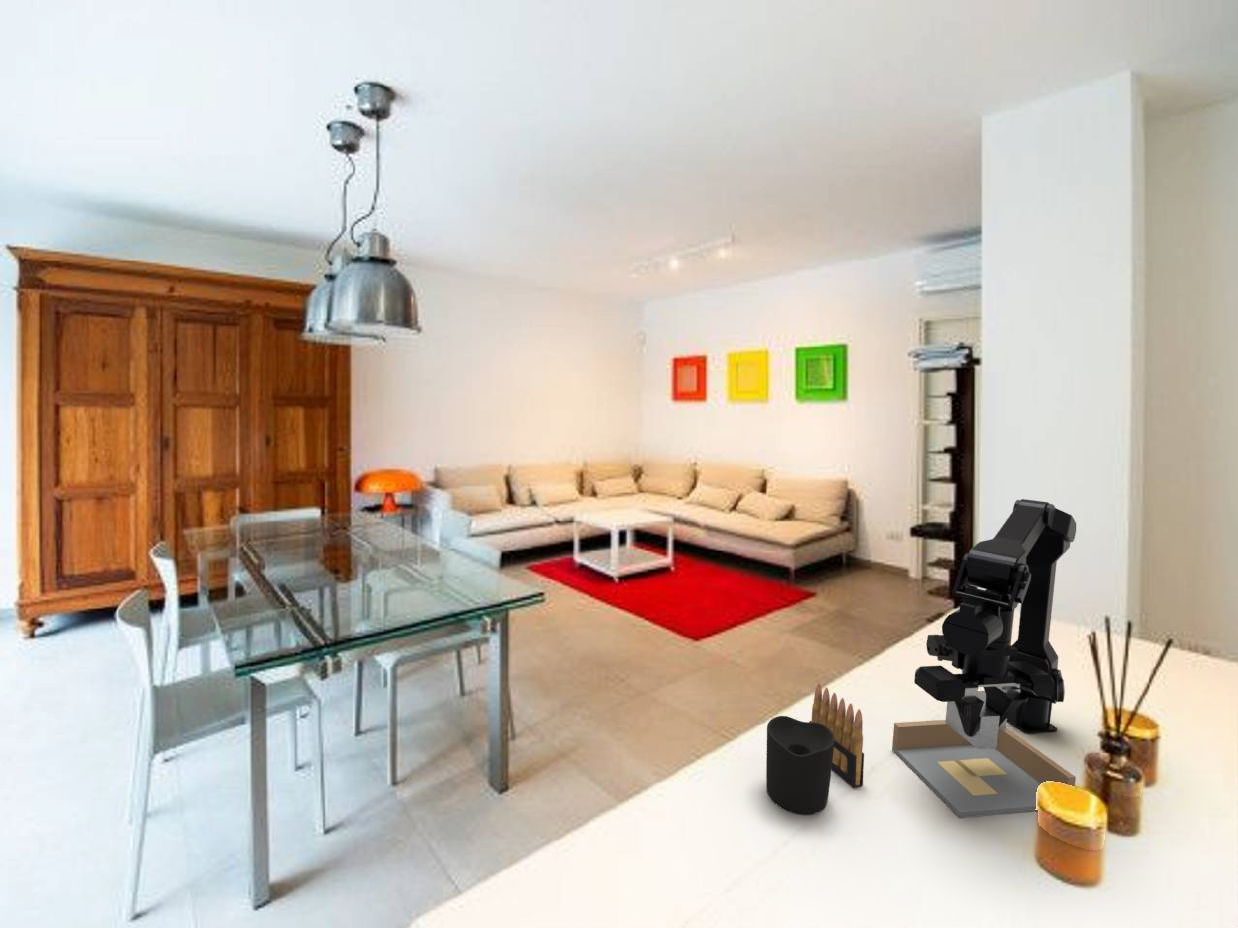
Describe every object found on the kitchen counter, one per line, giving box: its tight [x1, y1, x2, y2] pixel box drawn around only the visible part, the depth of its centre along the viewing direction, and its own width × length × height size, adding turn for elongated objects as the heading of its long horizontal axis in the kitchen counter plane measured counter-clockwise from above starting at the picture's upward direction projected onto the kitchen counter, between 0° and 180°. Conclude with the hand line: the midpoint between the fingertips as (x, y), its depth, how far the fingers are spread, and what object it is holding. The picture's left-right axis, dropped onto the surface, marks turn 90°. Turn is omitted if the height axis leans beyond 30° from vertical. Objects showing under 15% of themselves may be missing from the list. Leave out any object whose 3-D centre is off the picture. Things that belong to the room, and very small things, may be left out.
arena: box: [891, 719, 1077, 819], centre depth 92 cm, size 18×16×5 cm
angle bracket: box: [945, 690, 1008, 749], centre depth 90 cm, size 7×8×5 cm
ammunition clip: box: [808, 682, 865, 789], centre depth 93 cm, size 11×2×12 cm, turn 22°
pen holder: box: [765, 715, 835, 816], centre depth 86 cm, size 9×9×10 cm
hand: (978, 734), depth 88 cm, fingers closed on angle bracket, 3 cm apart
